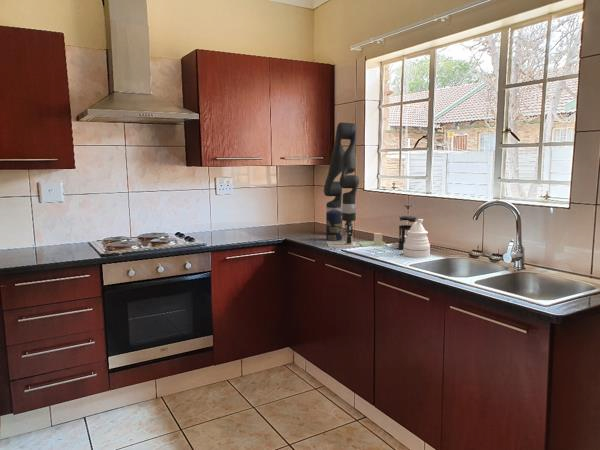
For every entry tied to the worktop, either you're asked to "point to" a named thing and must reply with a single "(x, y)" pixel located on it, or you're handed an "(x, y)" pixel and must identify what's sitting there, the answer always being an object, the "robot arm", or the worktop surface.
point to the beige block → (346, 239)
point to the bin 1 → (342, 244)
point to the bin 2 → (371, 244)
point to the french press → (404, 228)
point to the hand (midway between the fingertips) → (348, 242)
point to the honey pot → (417, 241)
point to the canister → (334, 225)
